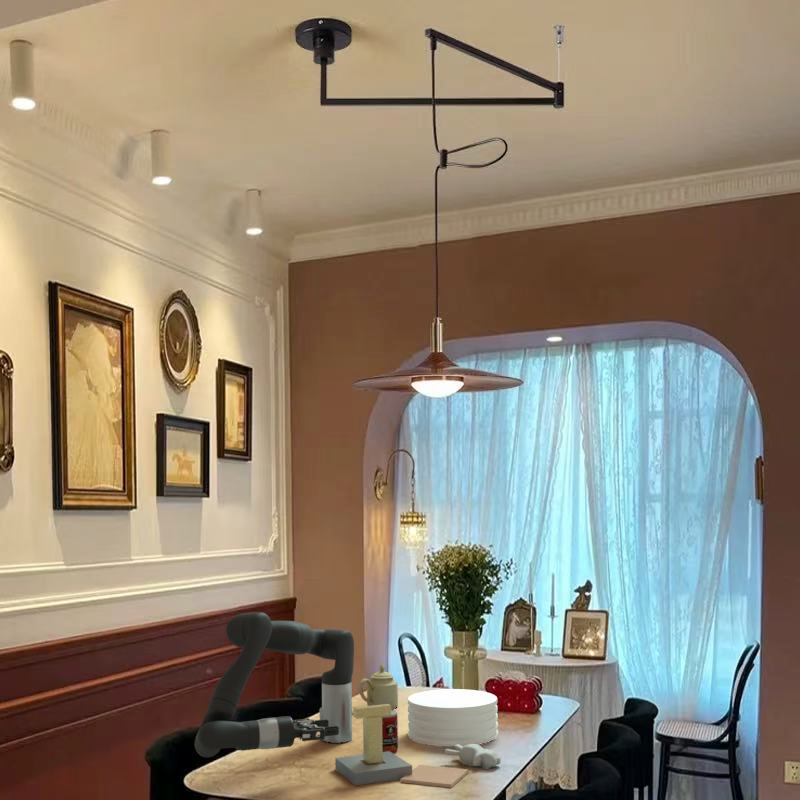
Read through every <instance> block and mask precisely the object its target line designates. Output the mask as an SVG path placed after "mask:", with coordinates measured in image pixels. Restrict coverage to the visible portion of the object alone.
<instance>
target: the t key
mask: <svg viewBox="0 0 800 800" xmlns="http://www.w3.org/2000/svg"><path fill="white" fill-rule="evenodd" d="M391 710H392V709H391V705H389V704H381V705H372V706H367V705H364V706H363V705H362V706H355V707H354V706H353V718H355V719H357V720H359V719H362V723H363V724H362V728H363V729H362V734H363V735H362V738H363V739H362V740H363V741H362V743H363V754H362V755H364V764H365V765H367V766H369V765H376V764H383V745H382V716H387V715H391Z"/></svg>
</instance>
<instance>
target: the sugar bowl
mask: <svg viewBox="0 0 800 800" xmlns="http://www.w3.org/2000/svg"><path fill="white" fill-rule="evenodd" d="M385 670H386V667H385V665H384V664H380V666H379V671H377V672H375V673H373V674H372V675H371V676H370V678H371V679H369V678H362V679H361V680H360V681H359V684H358V692H359V695H360V697H361V698H362V699H363V701H364V702H365V703H366V704H367V705H366V706H372V705H381V704H389V705H391V710H394V709H393V708H395V709H397V708H398V707H399V705H398V704H399V698H398V697H399V693H398V692H399V691H398V689H399V687H398V685H399V684H398V681H395V680H394V677H395V675H393V674H392V673H391V672H387V671H385ZM365 683H366V695H365V693H364V684H365ZM396 707H397V708H396Z"/></svg>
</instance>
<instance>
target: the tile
mask: <svg viewBox="0 0 800 800" xmlns="http://www.w3.org/2000/svg"><path fill="white" fill-rule="evenodd" d="M468 772H469V769H468V768H466V769H465V768H456V767H447V766H436V765H435V766H434V765H427V764H426V765H425V764H418V765H417V766H416V767H415V768H414V769H413V768H412V774H410V775H405V776H404V777H403V778H401V779H400V783H405V784H415V785H423V786H434V787H439V788H440V787H443V788H453V787H454V786H455V785H456V784H457V783H459V782H460V781H461V780H462V779H463V778H465V776H466V775H468V774H469V773H468ZM461 778H462V779H461ZM459 780H460V781H459Z"/></svg>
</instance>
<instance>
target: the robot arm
mask: <svg viewBox="0 0 800 800" xmlns="http://www.w3.org/2000/svg"><path fill="white" fill-rule="evenodd" d="M225 634H226V637H227V639H228V641H229V642H230V643H231V644H232V645H233V646H235V647H237V648H242V651H241V652H240V654H239V655H238V657H237V658H236V660H235V661H234V662H233V663H232V664H231V665H230V666H229V668H227V670H226V671H225V672H224V673H223V674H222V676H221V677H220V678H219V680H218V682H217V684H216V686H215V687H214V690H213V693H212V695H211V698H210V701H209V704H208V707H207V711H206V714H205V716H204V717H203V720H202V722H201V724H200V726H199V729H198V731H197V733H196V736H195V739H194V748H195V751H196V752H197V754H198V755H199V756H200V757H202V758H213V757H214V756H216V755H217V754H218V753H219V752H220V751H221V749H231V748H234V749H235V750H237V751H252V750H270V749H280V748H290V747H292V746H293V745H294V744H295V743H294V742H295V739H299V740H302V742H309V741H321V740H323V742H324V741H326V742H325V743H328V742H331V743H330V744H342V743H341V742H343V743H347V741H348V742H350V741H352V740H353V703H352V702H353V699H352V698H353V696H352V695H353V690H352V689H353V684H352V681H353V673H354V661H355V659H354V657H355V639H354V636H353V634H352V632H351V631H349V630H347V629H336V628H335V629H333V628H325V629H324V628H321V629H317V628H316V629H315V628H314V629H313V628H311V627H310V626H309V625H307V624H306V623H303V622H298V621H294V620H271V618H270V616H269V615H268V614H266V613H265V612H257V611H256V612H244V613H243V612H242V613H238V614H236V615H234V616H233V617H232V618H230V619H229V621H227V624H226V629H225ZM265 649H267V650H271V651H275V652H280V653H285V654H289V655H305V654H308V655H309V654H310V655H312V656H316V657H318V658H321V659H324V660H330V661H331V660H332V661H334V667H333V668H332V669H331V670H326V671H325V672H323V673H322V675H321V707H320V708H319V719H317V720H316V719H310V718H301V719H293V718H292V717H291V716H289V715H288V716H278V717H268V718H267V717H266V718H261V719H256V720H246V721H240V722H239V721H234V720H233V717H234V715H235V713H236V711H237V707H238V705H239V702H240V699H241V697H242V693H243V691H244V689H245V687H246V684H247V682H248V679H249V677H250V676H251V674H252V672H253V670H254V668H255V667H256V665H257V663H258V662H259V660H260V657H261V656H262V654H263V652H264V650H265ZM231 720H233V721H231ZM318 733H319V734H318Z"/></svg>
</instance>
